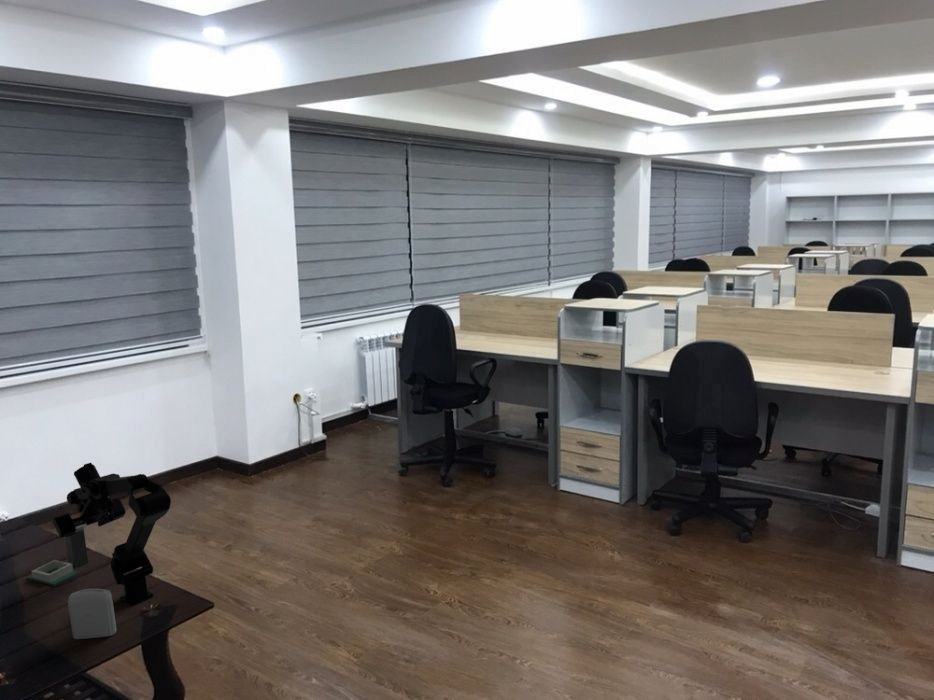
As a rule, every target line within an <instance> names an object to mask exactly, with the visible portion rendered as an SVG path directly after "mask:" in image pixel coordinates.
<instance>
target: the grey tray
mask: <svg viewBox="0 0 934 700" xmlns="http://www.w3.org/2000/svg"><path fill="white" fill-rule="evenodd" d="M77 575H80V571H77V570H74V567H73V565H72V564H70V563H69V562H66V561H61V560H58V559H54V560H52V561H50V562H48V563H45V564H43V565H41V566H39V567H36V568H35V569H33V570H31V574H30V575H28V576H26V579H27V580H30V581H33V582H37V583H42V584H45V585H48V586H53V587H57V586H58V585H60V584H62V583H64V582H66V581H67V580H70V579H71V578H73V577H75V576H77Z"/></svg>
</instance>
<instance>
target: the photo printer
mask: <svg viewBox="0 0 934 700" xmlns="http://www.w3.org/2000/svg"><path fill="white" fill-rule="evenodd" d="M67 599H68V600H67V605H68V612H69V619H70V624H71V625H70V626H71V632H72V637H73V639H74V640H82V639H83V640H84V639H94V638H95V639H97V638H105V637H111V636H114V635H115V634H116V633H117V624H116V617H115V616H116V615H115V609H114V603H113V595H112V591H111V590H109V589H103V588H85V589H82V590H81V589H80V590H78V591H75V592H72V593H71V594H70V595H69V596H68V598H67Z"/></svg>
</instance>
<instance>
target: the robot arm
mask: <svg viewBox="0 0 934 700" xmlns="http://www.w3.org/2000/svg"><path fill="white" fill-rule="evenodd" d="M73 476H74V478H75V480H76V481H77V484H78V485H79V487H78V488H75V489H73V490H71V491H70V492H68V494H66V501H67V502H68V504H69V505H70V506H71V505H77V507H76V510H77V513H80V515H79V516H78V517H75V518H72V517H71V514H70V513H69V512H66V513H62V514H59V515H55V516H54V518H53V519H52V524H53V526H54V528H55V530H56V532H57V534H58V536H59V538H64V539H65V537H67V538H68V537H70V536H72V535H74V534H75V532H76V527H78V526H81V525H82V526H83V525H86V526H90V525H93V524H96V523H97V525H98V527H102V526H104V525H107V524H109V523H111V522H115V521H117V520H120V519H122V518H124V516H125V514H126V508H125V506H124V504H123V502H122V500H121V499H120V497H117V496H115V497H112V496H114V495H116V494H121V493H127V494H128V506H129V507H130V509H131V510H132V512H133V513H134V514H135V519H134V522H133V525H132V526H131V529H130V531H129V534H128V537H127V539H126V542H124V543H120V544H117V545H116V546H115V547H114V549H113V552H112V553H111V556H112V557H111V561H110V569H111V571H112V576H113V578H114V581H115V584H116V585H117V586H119V585H121V586H123V591H124V595H121V596H120V597H119V600H121V602H123V603H126V604H128V605H130V606H135V605H136V604H139V603H141V602H143V601H145V600H148V599H149V598H152V597H153V596H154V593H153V592H150V591H149V590H148V584H147V578H146V577H147V576H149V575H152V574H153V573H154V566H153V565H152V563H151V561H150V559H149V557H148V555H147V553H146V552H145V547H146V545H147V543H148V540H149V538H150V537H151V534H152V531H153V529H154V527H155V525H156V523H157V521H159V520H161V518H162V517H165V515H167V513H168V512H169V510H170V509H171V503H172V499H171V496H170V495H169V493H168V492H167V491H166V490H165V488H164V487H163V486H162V485H161V484H159V483H157V482H155V481H153V480H151V479H149V477H147V475H146V474H144V473H139V474H135V475H129V476H120V474H119V473H118V474H117V473H110V474H107V475H103V476H100V473H99V471H98V469H97V468H96V466H95V464H93V463H92V462H87V463H84V464H83V465H82V466H81V467H79V468H78V469H76V470H74V472H73ZM143 489H144V491H146V492H148V494H145V495H142V496H139V497H135V496H134V492H138V491H140V490H143Z"/></svg>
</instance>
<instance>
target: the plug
mask: <svg viewBox="0 0 934 700" xmlns="http://www.w3.org/2000/svg"><path fill="white" fill-rule="evenodd" d="M64 539H65V546H66V547H65V548H66V554H67V561H68V562H67V563H70V564H72V565H73V569H76V568H79V567H81V565H82V566H83V565H86V563H87V564H89V559H88V552H87V551H88V550H87V543H86V535H85V528H84V526H83V525H81V526H78V527H76V532H75V534H74V535H72V536H70V537H68V538H67V537H64ZM78 566H79V567H78ZM75 567H76V568H75Z"/></svg>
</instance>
